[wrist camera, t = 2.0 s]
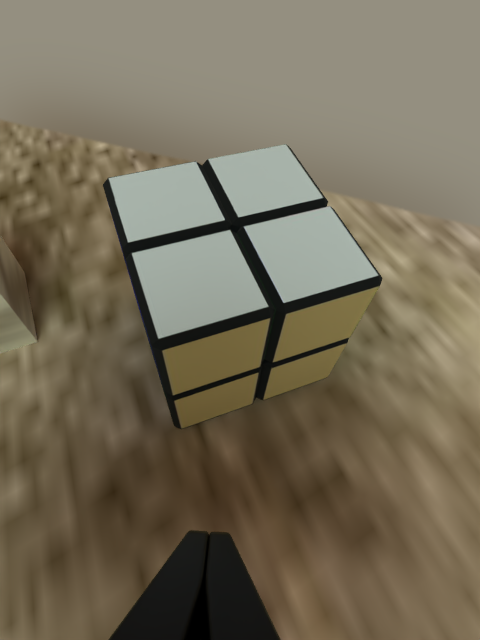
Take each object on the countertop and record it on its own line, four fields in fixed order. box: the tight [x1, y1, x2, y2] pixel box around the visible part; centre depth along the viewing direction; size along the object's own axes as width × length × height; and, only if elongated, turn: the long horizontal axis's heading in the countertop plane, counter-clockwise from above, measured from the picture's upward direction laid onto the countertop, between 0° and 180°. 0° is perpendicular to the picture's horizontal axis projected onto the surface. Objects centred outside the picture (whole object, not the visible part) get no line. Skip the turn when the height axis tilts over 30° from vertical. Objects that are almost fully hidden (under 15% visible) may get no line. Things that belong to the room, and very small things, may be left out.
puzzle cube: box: [103, 144, 382, 429], centre depth 22 cm, size 10×10×10 cm
